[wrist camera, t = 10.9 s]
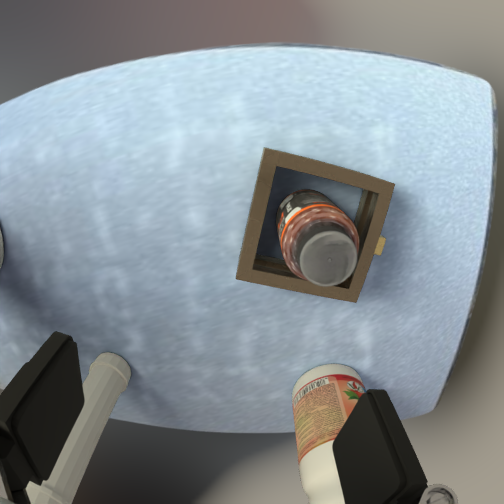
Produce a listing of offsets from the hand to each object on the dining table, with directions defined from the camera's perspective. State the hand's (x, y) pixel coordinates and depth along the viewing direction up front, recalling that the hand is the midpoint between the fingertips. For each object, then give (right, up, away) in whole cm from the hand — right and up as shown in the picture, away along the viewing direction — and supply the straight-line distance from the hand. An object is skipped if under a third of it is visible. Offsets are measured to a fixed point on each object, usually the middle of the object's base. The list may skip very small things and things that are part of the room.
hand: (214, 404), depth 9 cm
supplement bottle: (+6, +8, +22) cm, 25 cm away
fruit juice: (+11, -13, +30) cm, 34 cm away
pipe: (-17, -11, +29) cm, 36 cm away
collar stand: (+7, +8, +22) cm, 24 cm away
